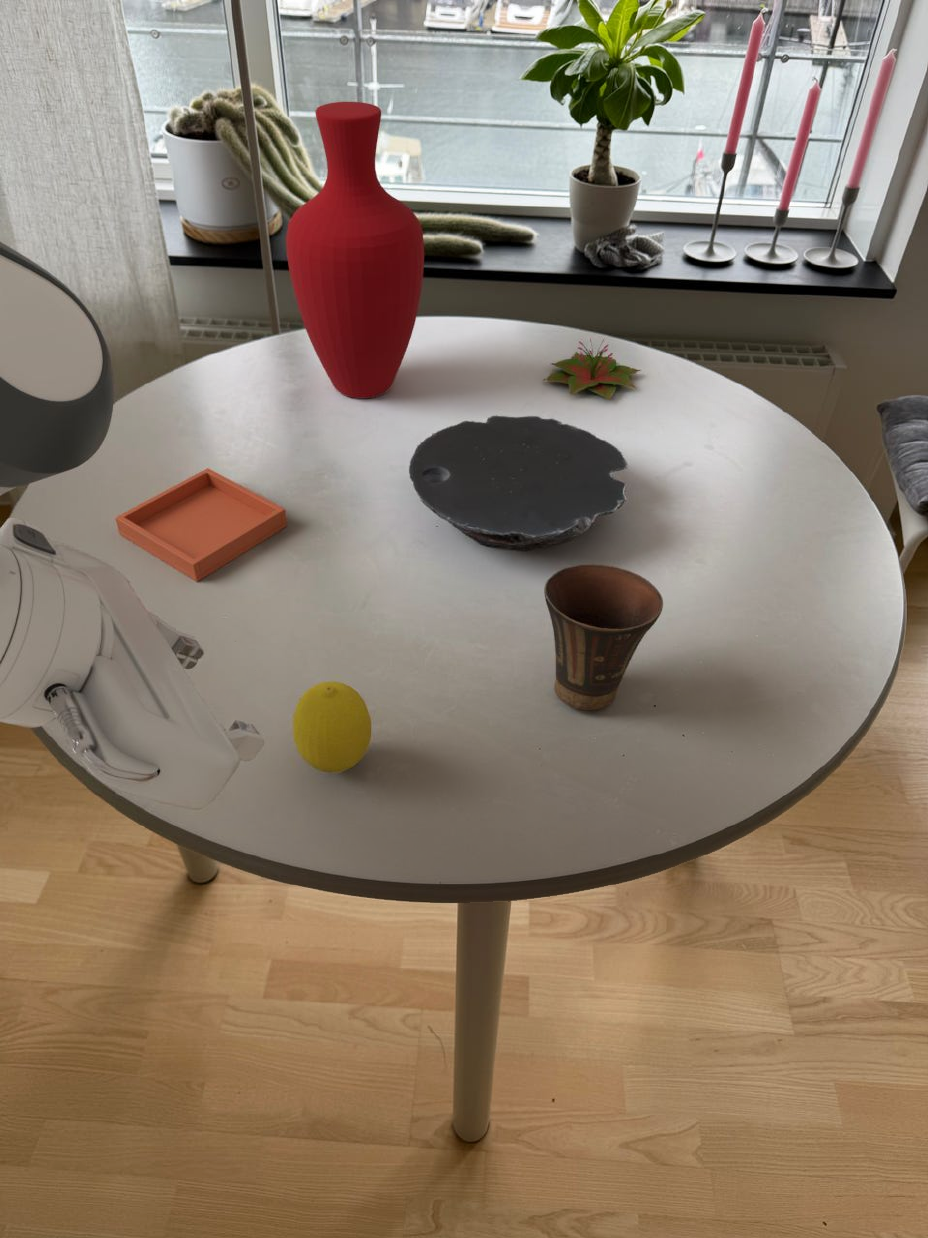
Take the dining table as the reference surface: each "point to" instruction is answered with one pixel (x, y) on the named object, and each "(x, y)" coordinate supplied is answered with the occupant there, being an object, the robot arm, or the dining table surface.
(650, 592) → the cup
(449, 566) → the dining table surface
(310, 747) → the lemon
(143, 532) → the tray
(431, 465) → the board
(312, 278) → the vase
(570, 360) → the lily flower
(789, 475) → the dining table surface
